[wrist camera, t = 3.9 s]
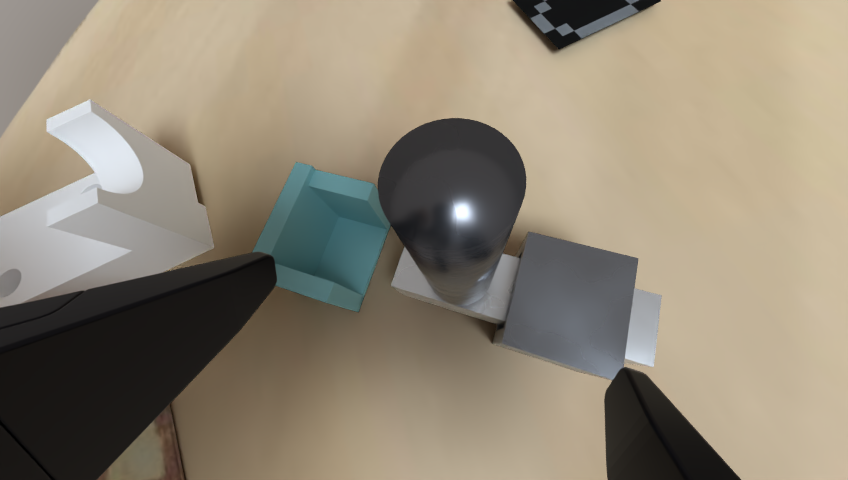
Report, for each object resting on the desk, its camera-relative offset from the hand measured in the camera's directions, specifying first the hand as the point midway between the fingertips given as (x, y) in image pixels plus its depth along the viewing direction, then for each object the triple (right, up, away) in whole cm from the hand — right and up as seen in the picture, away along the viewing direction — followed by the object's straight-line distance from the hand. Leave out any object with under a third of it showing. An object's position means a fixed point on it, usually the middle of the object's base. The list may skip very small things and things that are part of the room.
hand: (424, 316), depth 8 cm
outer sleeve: (+7, -2, +10) cm, 12 cm away
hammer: (+5, -1, +9) cm, 10 cm away
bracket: (-22, +1, +15) cm, 27 cm away
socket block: (-5, +1, +12) cm, 13 cm away
